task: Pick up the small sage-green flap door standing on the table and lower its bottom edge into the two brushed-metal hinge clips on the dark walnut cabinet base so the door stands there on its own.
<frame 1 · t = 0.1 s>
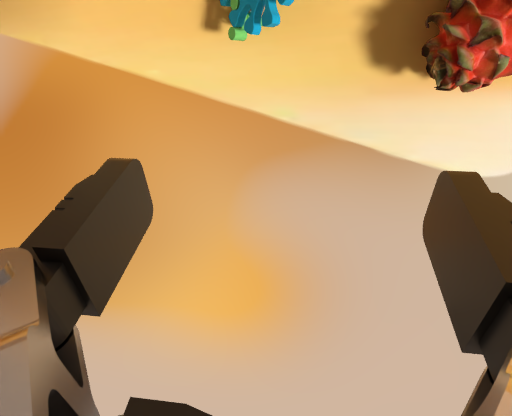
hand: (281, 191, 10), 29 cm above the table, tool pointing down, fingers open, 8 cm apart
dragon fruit: (473, 13, 31), on the table
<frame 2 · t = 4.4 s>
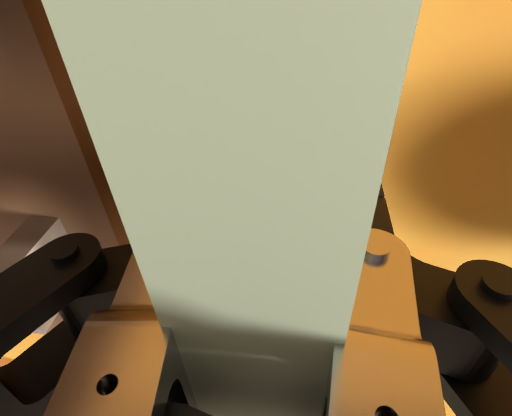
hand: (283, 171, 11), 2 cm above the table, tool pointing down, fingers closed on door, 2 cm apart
door: (286, 146, 12), on the table, touching gripper
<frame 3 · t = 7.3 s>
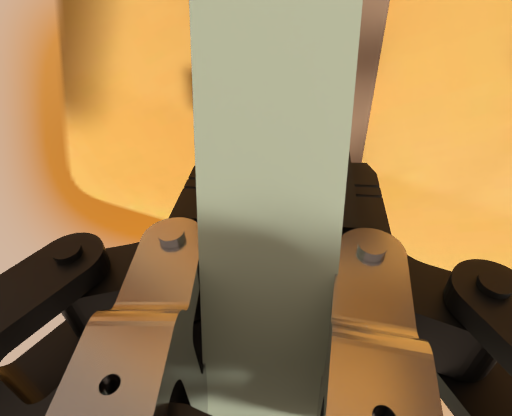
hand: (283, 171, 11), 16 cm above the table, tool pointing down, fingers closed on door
cabinet base: (299, 36, 23), on the table
door: (288, 163, 14), point 13 cm above the table, tilted 22°, touching gripper
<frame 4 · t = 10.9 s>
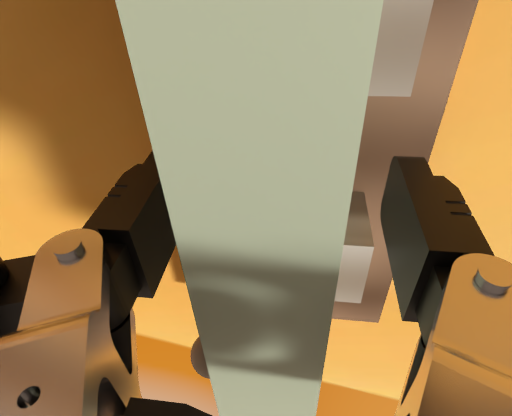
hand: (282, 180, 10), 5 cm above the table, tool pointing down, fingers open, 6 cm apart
cabinet base: (290, 114, 14), on the table
door: (287, 137, 13), point 1 cm above the table, touching cabinet base
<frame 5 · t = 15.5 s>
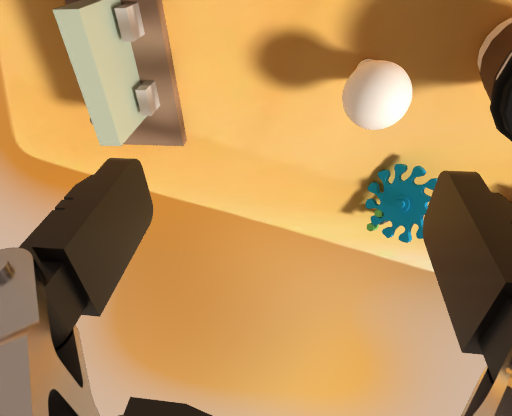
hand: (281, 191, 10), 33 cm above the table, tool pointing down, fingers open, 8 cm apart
lightbulb: (366, 67, 39), on the table
cabinet base: (130, 54, 41), on the table
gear: (394, 187, 48), on the table
coffee cup: (511, 47, 36), on the table
door: (125, 60, 40), point 1 cm above the table, touching cabinet base
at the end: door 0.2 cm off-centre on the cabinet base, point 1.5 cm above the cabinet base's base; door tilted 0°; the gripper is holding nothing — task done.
